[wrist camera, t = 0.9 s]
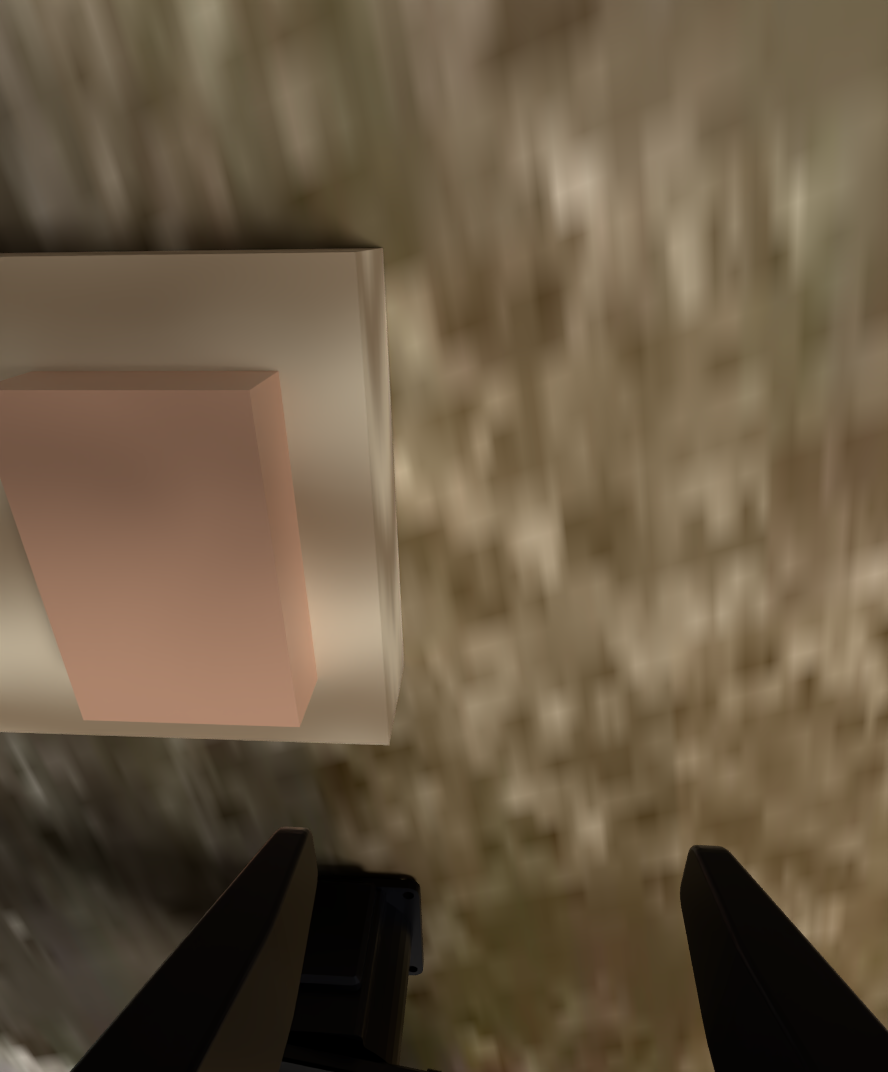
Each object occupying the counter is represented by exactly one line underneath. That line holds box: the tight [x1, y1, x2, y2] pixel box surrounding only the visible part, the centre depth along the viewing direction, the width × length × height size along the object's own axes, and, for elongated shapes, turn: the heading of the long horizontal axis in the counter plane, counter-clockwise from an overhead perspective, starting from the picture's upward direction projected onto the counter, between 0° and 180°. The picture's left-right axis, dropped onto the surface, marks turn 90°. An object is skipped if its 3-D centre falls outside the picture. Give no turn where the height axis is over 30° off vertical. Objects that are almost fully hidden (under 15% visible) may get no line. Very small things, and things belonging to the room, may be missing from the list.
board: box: [0, 248, 404, 745], centre depth 19 cm, size 14×16×4 cm
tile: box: [0, 371, 318, 727], centre depth 16 cm, size 9×6×2 cm, turn 1°
